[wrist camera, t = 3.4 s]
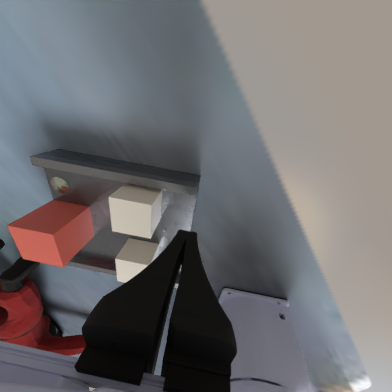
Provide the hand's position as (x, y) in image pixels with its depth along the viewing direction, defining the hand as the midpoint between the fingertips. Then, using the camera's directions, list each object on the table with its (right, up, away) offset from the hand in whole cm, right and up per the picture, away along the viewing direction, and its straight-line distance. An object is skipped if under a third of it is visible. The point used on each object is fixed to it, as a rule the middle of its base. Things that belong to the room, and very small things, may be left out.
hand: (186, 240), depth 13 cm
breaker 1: (-4, +3, +4) cm, 7 cm away
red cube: (-13, +1, +6) cm, 14 cm away
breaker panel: (-7, +1, +8) cm, 11 cm away
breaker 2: (-5, -3, +7) cm, 10 cm away
